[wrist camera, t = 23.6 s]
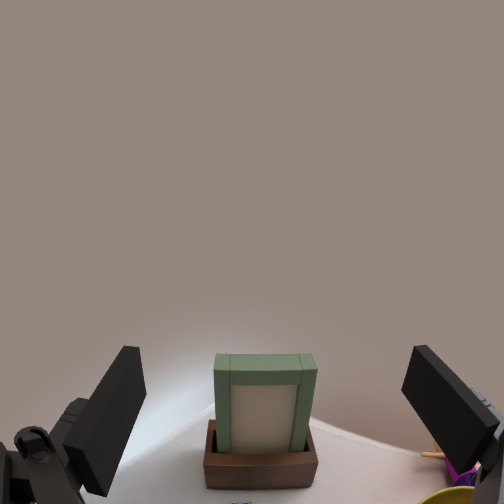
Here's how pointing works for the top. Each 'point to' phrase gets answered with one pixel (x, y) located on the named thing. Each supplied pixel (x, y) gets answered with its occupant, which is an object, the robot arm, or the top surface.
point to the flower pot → (450, 496)
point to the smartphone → (244, 503)
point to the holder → (258, 467)
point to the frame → (263, 402)
